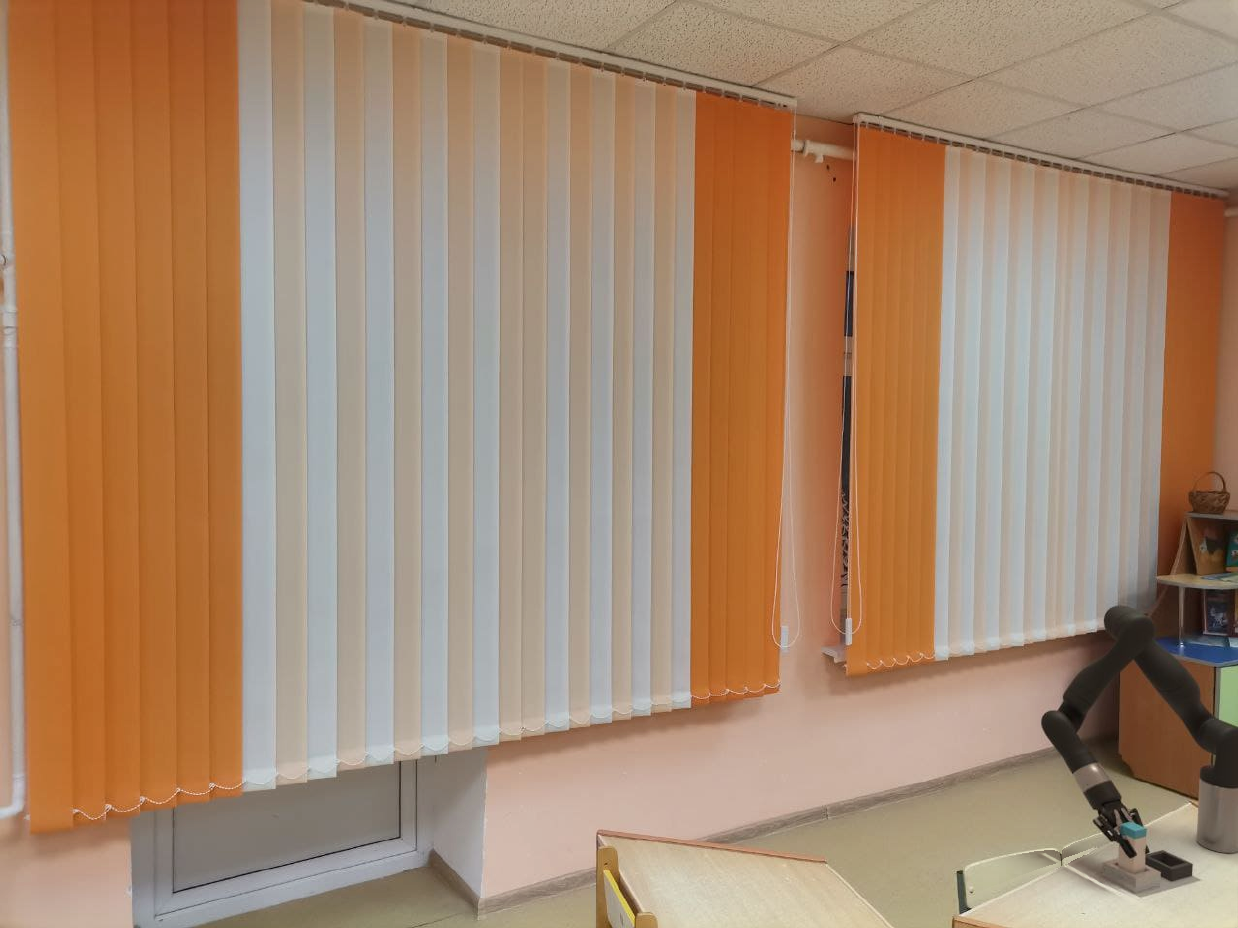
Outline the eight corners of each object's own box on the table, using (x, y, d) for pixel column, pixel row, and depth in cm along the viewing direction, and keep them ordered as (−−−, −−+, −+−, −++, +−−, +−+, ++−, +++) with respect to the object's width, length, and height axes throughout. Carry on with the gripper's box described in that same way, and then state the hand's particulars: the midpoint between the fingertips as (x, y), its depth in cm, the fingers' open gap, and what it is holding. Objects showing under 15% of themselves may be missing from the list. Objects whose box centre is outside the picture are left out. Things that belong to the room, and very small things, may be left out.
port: (1126, 869, 219) (1127, 855, 218) (1160, 886, 211) (1160, 871, 211) (1102, 875, 215) (1103, 861, 215) (1135, 893, 207) (1136, 878, 207)
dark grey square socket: (1162, 861, 223) (1162, 849, 223) (1192, 875, 216) (1192, 863, 216) (1141, 866, 220) (1142, 855, 220) (1171, 881, 213) (1172, 869, 213)
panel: (1154, 861, 225) (1154, 857, 225) (1201, 883, 214) (1201, 879, 214) (1094, 877, 216) (1094, 873, 216) (1140, 901, 205) (1140, 897, 205)
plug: (1128, 869, 216) (1131, 821, 215) (1144, 877, 212) (1146, 828, 211) (1117, 872, 214) (1119, 823, 213) (1133, 880, 210) (1135, 831, 210)
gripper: (1086, 783, 216) (1130, 854, 205) (1126, 775, 222) (1171, 844, 211) (1066, 796, 221) (1108, 866, 210) (1106, 788, 227) (1149, 856, 216)
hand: (1139, 854), depth 211 cm, fingers closed on plug, 4 cm apart
